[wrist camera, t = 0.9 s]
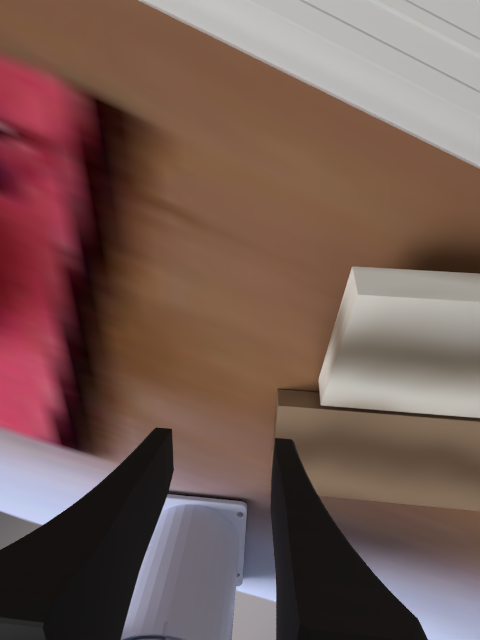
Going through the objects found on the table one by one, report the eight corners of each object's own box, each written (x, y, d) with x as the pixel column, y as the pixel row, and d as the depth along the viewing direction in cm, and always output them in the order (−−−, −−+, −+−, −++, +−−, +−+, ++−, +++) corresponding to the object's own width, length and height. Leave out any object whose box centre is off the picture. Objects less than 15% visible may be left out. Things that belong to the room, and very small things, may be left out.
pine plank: (499, 392, 21) (512, 420, 20) (318, 379, 22) (320, 405, 21) (613, 281, 15) (644, 312, 14) (351, 266, 16) (357, 294, 14)
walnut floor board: (498, 491, 25) (514, 514, 23) (270, 470, 25) (270, 491, 24) (533, 408, 22) (555, 427, 20) (277, 389, 23) (278, 405, 21)
